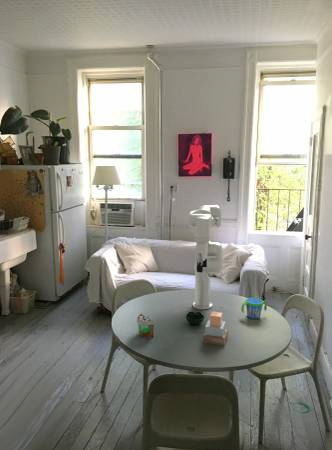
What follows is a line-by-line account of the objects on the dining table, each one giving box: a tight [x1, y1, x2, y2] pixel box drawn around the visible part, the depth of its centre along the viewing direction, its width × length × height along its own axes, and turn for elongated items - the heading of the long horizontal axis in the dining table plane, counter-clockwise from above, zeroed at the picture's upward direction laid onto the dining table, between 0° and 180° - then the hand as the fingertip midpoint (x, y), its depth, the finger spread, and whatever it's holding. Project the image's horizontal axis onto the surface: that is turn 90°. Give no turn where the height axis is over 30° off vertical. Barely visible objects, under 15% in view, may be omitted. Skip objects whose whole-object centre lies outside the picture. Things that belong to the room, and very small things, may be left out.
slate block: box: [204, 319, 226, 337], centre depth 203 cm, size 9×9×4 cm
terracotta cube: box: [209, 311, 224, 327], centre depth 202 cm, size 6×6×6 cm
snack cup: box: [240, 297, 268, 320], centre depth 231 cm, size 16×10×10 cm
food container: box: [136, 312, 156, 339], centre depth 207 cm, size 12×6×10 cm, turn 37°
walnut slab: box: [202, 328, 229, 347], centre depth 204 cm, size 11×11×4 cm
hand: (201, 269), depth 214 cm, fingers open, 9 cm apart
